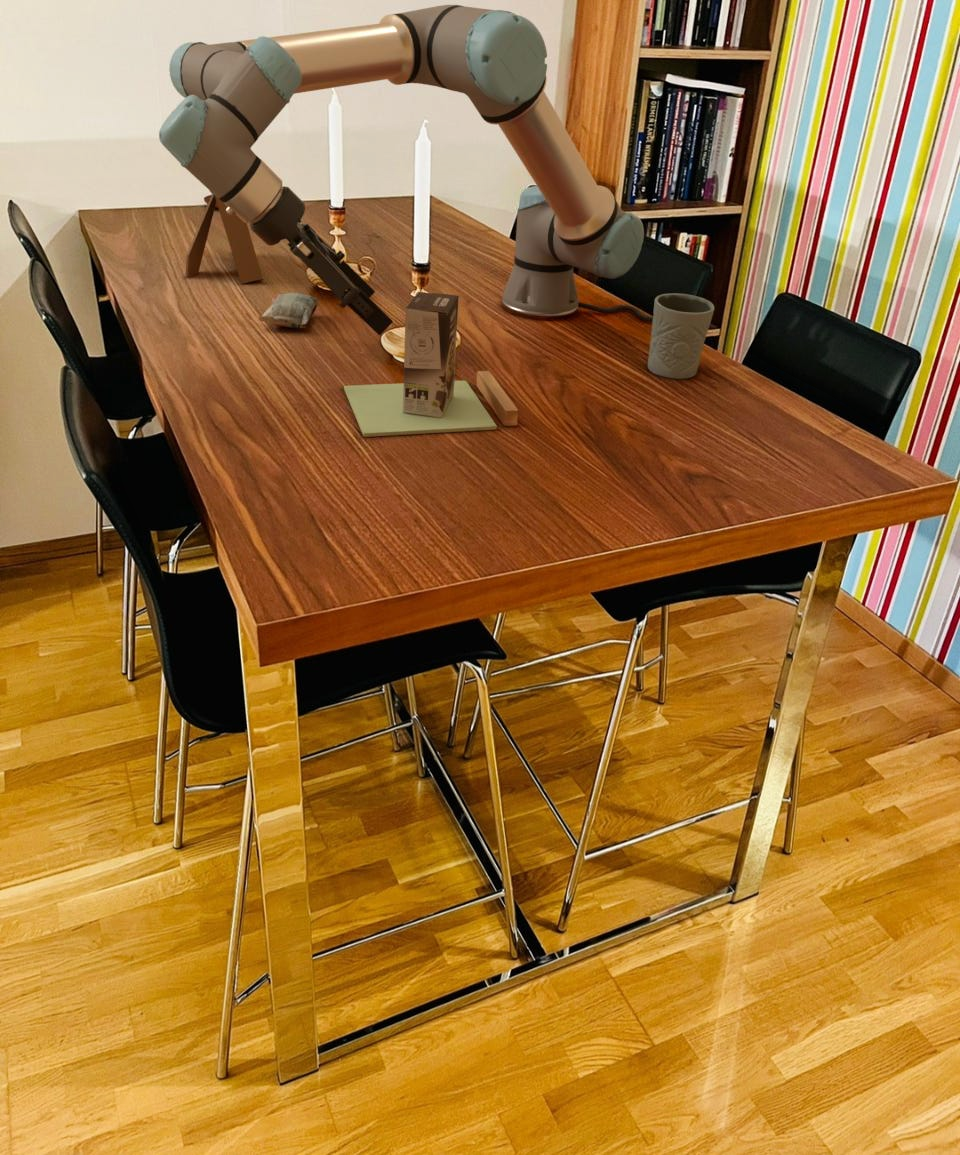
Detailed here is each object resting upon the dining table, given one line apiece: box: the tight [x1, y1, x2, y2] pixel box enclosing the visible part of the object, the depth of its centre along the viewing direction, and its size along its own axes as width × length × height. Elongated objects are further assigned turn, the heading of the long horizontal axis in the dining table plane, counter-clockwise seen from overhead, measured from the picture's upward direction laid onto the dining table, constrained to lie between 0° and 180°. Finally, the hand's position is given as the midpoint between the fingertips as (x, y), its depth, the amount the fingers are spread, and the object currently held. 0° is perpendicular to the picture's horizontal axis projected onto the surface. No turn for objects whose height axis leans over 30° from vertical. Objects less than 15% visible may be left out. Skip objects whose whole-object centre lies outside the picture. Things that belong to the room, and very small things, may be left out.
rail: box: [475, 370, 519, 427], centre depth 157 cm, size 2×16×2 cm, turn 15°
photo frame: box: [185, 193, 264, 285], centre depth 202 cm, size 15×22×25 cm
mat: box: [343, 380, 498, 438], centre depth 154 cm, size 20×18×1 cm
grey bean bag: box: [258, 292, 319, 329], centre depth 182 cm, size 9×12×5 cm
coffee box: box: [403, 291, 460, 418], centre depth 150 cm, size 9×6×16 cm
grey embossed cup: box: [647, 292, 715, 380], centre depth 172 cm, size 10×10×12 cm
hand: (377, 312), depth 146 cm, fingers open, 13 cm apart
